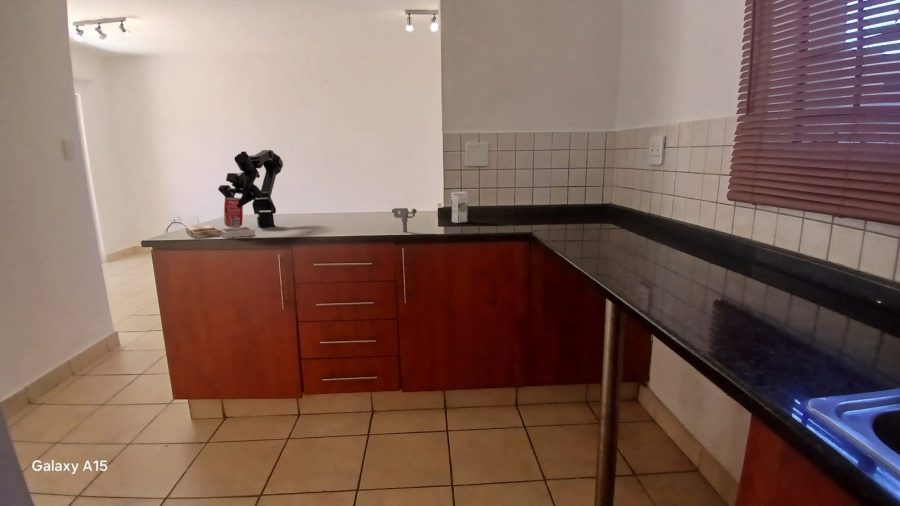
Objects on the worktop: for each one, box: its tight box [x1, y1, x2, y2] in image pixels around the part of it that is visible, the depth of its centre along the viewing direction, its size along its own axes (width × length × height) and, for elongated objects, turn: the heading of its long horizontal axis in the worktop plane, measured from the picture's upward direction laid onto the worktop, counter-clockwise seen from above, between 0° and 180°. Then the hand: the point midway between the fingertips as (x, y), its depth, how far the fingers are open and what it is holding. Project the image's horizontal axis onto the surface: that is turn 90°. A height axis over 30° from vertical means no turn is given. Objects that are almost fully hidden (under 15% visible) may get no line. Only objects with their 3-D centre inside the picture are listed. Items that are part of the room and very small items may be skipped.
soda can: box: [223, 197, 244, 228], centre depth 196 cm, size 7×7×12 cm
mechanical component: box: [391, 207, 418, 233], centre depth 197 cm, size 3×10×10 cm, turn 78°
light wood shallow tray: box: [185, 224, 220, 239], centre depth 202 cm, size 10×20×2 cm, turn 37°
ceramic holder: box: [218, 226, 256, 239], centre depth 198 cm, size 12×12×2 cm
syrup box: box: [450, 190, 469, 224], centre depth 222 cm, size 6×6×14 cm
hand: (231, 207), depth 194 cm, fingers closed on soda can, 6 cm apart
